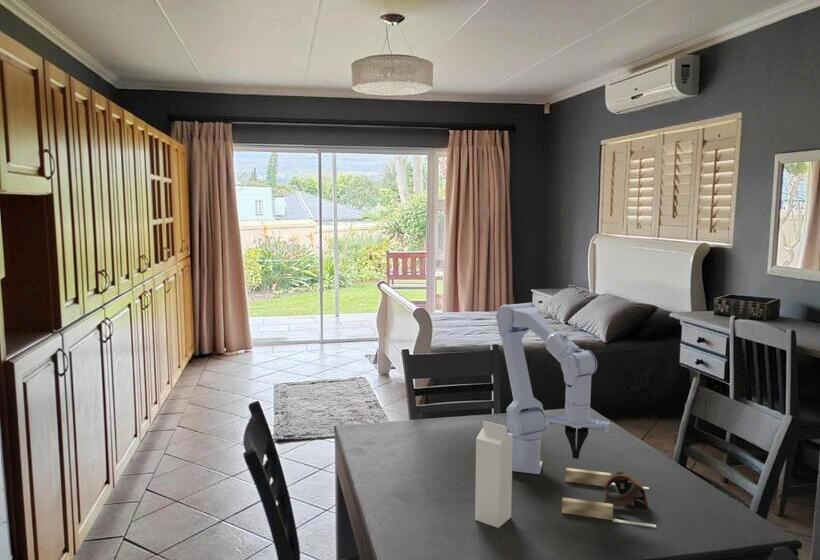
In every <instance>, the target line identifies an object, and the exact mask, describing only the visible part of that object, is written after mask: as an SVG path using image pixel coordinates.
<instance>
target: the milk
mask: <svg viewBox="0 0 820 560" xmlns="http://www.w3.org/2000/svg"><path fill="white" fill-rule="evenodd" d="M508 433H509V432H508V428H507V425H503V424H499V423H494V422H490V421H486V420H483V422H482V428H481V430H480V431H479V433H478V434H477V437H476V439H475V487H474V488H475V491H474V492H475V493H474V494H475V495H474V498H475V499H474V500H475V501H474V506H475V507H474V520H475V521H477V522H480V523H482V524H483V523H484V524H486V525H488V526H492V527H495V528H497V529H499V528H500V527H501V526H503V525H504V524H505V523H506V522H508V520H510V519H511V518H512V497H513V496H512V495H513V493H512V492H513V491H512V490H513V488H512V487H513V471H512V453H513V436H511V435H509V434H508Z"/></svg>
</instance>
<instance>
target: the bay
mask: <svg viewBox="0 0 820 560" xmlns="http://www.w3.org/2000/svg"><path fill="white" fill-rule="evenodd" d="M611 486H615V487H616V485H615V484H614V482H613V483H612V484H611ZM642 487H643V489H644V490H648V491H649V490H650V488H649V486H642ZM612 522H614V523H621V524H627V525H633V526H640V527H641V526H642V527H647V528H657V525H656V524H653V523H645V522H639V521H632V520H626V519H617V518H613V520H612Z"/></svg>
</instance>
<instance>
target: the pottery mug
mask: <svg viewBox="0 0 820 560" xmlns="http://www.w3.org/2000/svg"><path fill="white" fill-rule="evenodd" d="M612 483H614V484H615V485H616V486H615V485H614V486H615V487H616V489H617V492H618V494H617V495H616V494H613V493H610V492H609V488H610V487H609V486H610V485H611V484H612ZM611 486H612V485H611ZM643 487H644V486H643V485H642V484H641V483H640V482H639V481H637V480H636V479H634V478H633V477H632V476H630V475H629V474H625V473H624V472H623V471H621V470H620V471H617V472H616V473H615V475H611V478H609V479H608V480H607V481H606V483H605V485H604V486H603V488H604V491H603V493H604V494H603V500H604V502H603V503H608V504H613V507H617V508H619V507H624V506H627V505H631V506H634V507H635V501H634V500H638V501H641V502H643V503H644V505H645V508H646V509H647V510H648V509H649V503H648V502H649V500H648V497H647V495H646V491H645V489H643Z"/></svg>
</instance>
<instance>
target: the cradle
mask: <svg viewBox="0 0 820 560" xmlns="http://www.w3.org/2000/svg"><path fill="white" fill-rule="evenodd" d="M611 477H612V473H611V472H607V471H606V472H603V471H597V470H587V469H579V468H571V467H566V468H565V478H564V479H565V481H564V482H567V483H568V482H569V483H574V482H575V483H576V484H583V485H593V486H600V487H604V485H605V483H606V481H607V480H608V479H609V478H611ZM611 487H612V485H610V486H609V488H611ZM561 499H562V500H561V513H562V514H565V515H566V514H567V515H568V514H569V515H575V516H582V517H590V518H596V519H603V520H611V521H613V519H614V518H613V515H614V506H613V504H608V503H605V502H600V501H592V500H585V499H578V498H570V497H562V498H561Z"/></svg>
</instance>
